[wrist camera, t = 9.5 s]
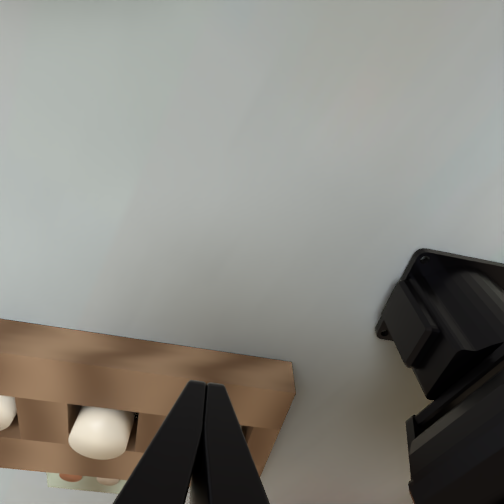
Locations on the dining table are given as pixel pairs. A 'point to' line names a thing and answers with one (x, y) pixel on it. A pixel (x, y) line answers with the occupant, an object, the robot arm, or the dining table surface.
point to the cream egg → (7, 411)
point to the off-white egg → (101, 432)
